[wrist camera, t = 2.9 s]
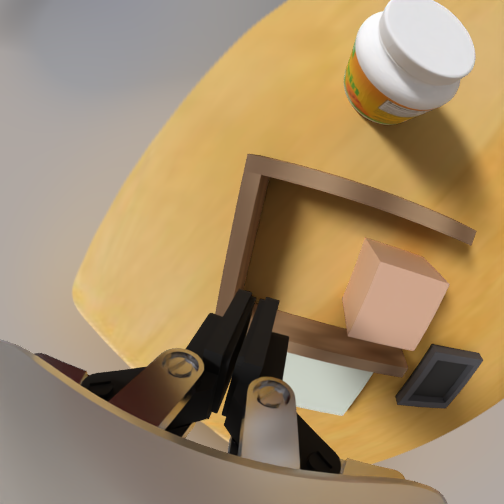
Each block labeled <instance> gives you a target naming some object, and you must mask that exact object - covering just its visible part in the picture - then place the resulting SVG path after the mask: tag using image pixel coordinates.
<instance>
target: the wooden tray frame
mask: <svg viewBox="0 0 504 504" xmlns="http://www.w3.org/2000/svg"><path fill="white" fill-rule="evenodd" d="M270 177H272V178H276V179H280V180H284V181H288V182H292V183H295V184H299V185H303V186H306V187H310V188H313V189H317V190H320V191H324V192H327V193H330V194H334V195H337V196H340V197H344V198H347V199H350V200H353V201H356V202H359V203H362V204H365V205H368V206H371V207H374V208H377V209H380V210H383V211H386V212H389V213H391V214H394V215H397V216H400V217H402V218H405V219H408V220H410V221H413V222H416V223H418V224H421V225H423V226H426V227H429V228H431V229H434V230H436V231H438V232H441V233H443V234H446V235H448V236H450V237H453V238H455V239H457V240H460V241H462V242H464V243H466V244H469V245H472V242H473V240H474V237H475V234H476V231H475V230H473V229H471V228H470V227H468V226H466V225H464V224H462V223H460V222H458V221H456V220H454V219H452V218H449V217H447V216H445V215H443V214H440V213H438V212H436V211H433V210H431V209H429V208H426V207H424V206H421V205H419V204H416V203H414V202H411V201H409V200H406V199H404V198H401V197H398V196H396V195H393V194H390V193H387V192H385V191H382V190H379V189H376V188H373V187H370V186H367V185H364V184H361V183H358V182H355V181H352V180H349V179H346V178H343V177H340V176H336V175H333V174H330V173H326V172H323V171H319V170H316V169H312V168H308V167H305V166H301V165H297V164H293V163H289V162H285V161H281V160H277V159H273V158H269V157H265V156H260V155H253V154H248V155H247V159H246V164H245V168H244V173H243V178H242V182H241V187H240V191H239V196H238V201H237V206H236V210H235V215H234V220H233V225H232V230H231V235H230V240H229V245H228V250H227V255H226V260H225V265H224V270H223V275H222V280H221V286H220V291H219V296H218V302H217V307H216V313H215V314H216V315H219V316H222V317H223V316H224V314H225V312H226V310H227V309H228V307H229V305H230V303H231V301H232V300H233V298H234V296H235V294H236V293H237V291H238V289H242V290H243V289H244V285H245V280H246V276H247V272H248V268H249V263H250V259H251V255H252V251H253V246H254V242H255V238H256V234H257V229H258V225H259V221H260V217H261V212H262V208H263V204H264V200H265V195H266V191H267V187H268V183H269V178H270ZM257 306H258V304H254V308H253V312H252V315H251V319H250V323H249V327H250V324H251V322H252V319H253V316H254V314H255V311H256V308H257ZM249 327H248V329H249ZM247 332H248V330H247ZM272 332H275V333H279V334H283V335H286V336H289V343H288V350H287V352H288V353H292V354H296V355H299V356H303V357H307V358H311V359H315V360H319V361H323V362H327V363H331V364H336V365H340V366H344V367H349V368H354V369H358V370H363V371H368V372H374V373H379V374H384V375H390V376H396V377H403V375H404V374H405V372H406V371H407V370H408V366H407V363H406V360H405V357H404V354H403V351H402V349H401V348H397V347H392V346H387V345H383V344H378V343H374V342H370V341H365V340H361V339H357V338H353V337H349V336H348V335H347V329H344V328H340V327H336V326H332V325H329V324H325V323H321V322H317V321H314V320H310V319H307V318H303V317H299V316H296V315H292V314H289V313H285V312H282V311H279V310H277V313H276V317H275V321H274V325H273V329H272ZM246 335H247V334H246Z"/></svg>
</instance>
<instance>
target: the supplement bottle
mask: <svg viewBox="0 0 504 504" xmlns="http://www.w3.org/2000/svg"><path fill="white" fill-rule="evenodd" d="M474 63H475V49H474V45H473V42H472V40H471V37H470V35H469V33H468V32H467V30H466V28H465V27H464V26H463V24H462V23H461V22H460V21H459V20H458V19H457V17H456V16H455V15H453V14H452V13H451V12H450V11H449V10H448V9H446V8H445V7H443V6H442V5H440V4H439V3H437V2H435V1H433V0H391V1H390V2H389V3H388V4H387V6H386V7H385V9H384V11H382V12H378V13H376V14H374V15H372V16H370V17H369V18H368V19H367V20H365V22H364V23H363V24H362V25H361V27H360V29H359V31H358V34H357V37H356V40H355V43H354V46H353V50H352V53H351V56H350V59H349V62H348V65H347V68H346V71H345V75H344V89H345V93H346V95H347V98H348V100H349V101H350V103H351V105H352V106H353V107H354V108H355V109H356V111H357V112H359V113H360V114H361V115H362V116H364V117H365V118H367V119H369V120H371V121H373V122H376V123H379V124H384V125H395V124H399V123H402V122H405V121H407V120H410V119H412V118H414V117H417V116H419V115H421V114H423V113H426V112H428V111H431V110H433V109H436V108H438V107H440V106H442V105H444V104H446V103H447V102H449V101H450V100H451V99H452V98H453V97H454V95H455V94H456V92H457V90H458V88H459V84H460V79H462V78H463V77H465V76H466V75H468V74H469V73H470V72H471V70H472V69H473V67H474Z"/></svg>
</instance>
